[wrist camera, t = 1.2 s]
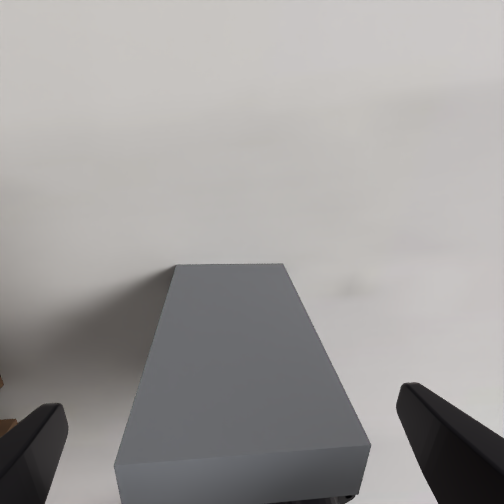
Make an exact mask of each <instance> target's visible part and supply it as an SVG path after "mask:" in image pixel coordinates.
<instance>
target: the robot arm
mask: <svg viewBox="0 0 504 504" xmlns="http://www.w3.org/2000/svg"><path fill="white" fill-rule="evenodd" d="M396 410H397V414H398V416H399V419H400V421H401V423H402V426H403V428H404V430H405V433H406V435H407V438H408V440H409V442H410V445H411V447H412V450H413V452H414V454H415V457H416V459H417V461H418V464H419V466H420V468H421V470H422V473H423V475H424V477H425V479H426V481H427V483H428V485H429V487H430V488H431V490H432V492H433V494H434V496H435V498H436V500H437V502H438V504H504V438H503V437H501V436H499V435H498V434H496V433H495V432H493V431H492V430H490V429H489V428H487V427H486V426H484V425H483V424H481V423H480V422H478V421H476V420H475V419H473V418H472V417H470V416H469V415H467V414H466V413H464V412H463V411H461V410H460V409H458V408H457V407H455V406H454V405H452V404H450V403H449V402H447V401H446V400H444V399H443V398H441V397H440V396H438V395H437V394H435V393H434V392H432V391H431V390H429V389H427V388H426V387H424V386H423V385H421V384H420V383H416V382H413V383H404V384H403V385H402V386H401V389H400V392H399V396H398V399H397V403H396ZM67 435H68V423H67V419H66V415H65V412H64V408H63V405H62V404H60V403H49V404H43V405H41V406H39V407H38V408H37V409H36V410H34V411H33V412H32V413H31V414H29V415H28V416H27V417H26V418H24V419H23V420H22V421H21V422H19V423H18V424H17V425H15V426H14V427H13V428H12V429H10V430H9V431H8V432H7V433H5V434H4V435H3V436H2V437H0V504H45V501H46V499H47V496H48V493H49V490H50V487H51V484H52V481H53V478H54V475H55V472H56V469H57V466H58V463H59V460H60V457H61V454H62V451H63V448H64V445H65V442H66V439H67ZM354 497H355V495H348V496H338V497H328V498H318V499H308V500H297V501H287V502H277V503H267V504H345V503H347V502H349V501H350V500H352V499H353V498H354Z"/></svg>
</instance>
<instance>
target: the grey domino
mask: <svg viewBox="0 0 504 504" xmlns="http://www.w3.org/2000/svg"><path fill="white" fill-rule="evenodd" d="M370 448H371V443H370V441H369V439H368V437H367V435H366V433H365V431H364V429H363V427H362V425H361V423H360V421H359V419H358V417H357V414H356V412H355V410H354V408H353V406H352V404H351V402H350V400H349V398H348V396H347V394H346V392H345V390H344V388H343V386H342V384H341V382H340V380H339V377H338V375H337V373H336V371H335V369H334V367H333V365H332V363H331V361H330V359H329V357H328V355H327V353H326V351H325V349H324V347H323V345H322V343H321V341H320V338H319V336H318V334H317V332H316V330H315V328H314V326H313V324H312V322H311V320H310V318H309V316H308V314H307V312H306V310H305V308H304V306H303V304H302V302H301V299H300V297H299V295H298V293H297V291H296V289H295V287H294V285H293V283H292V281H291V279H290V277H289V275H288V273H287V271H286V269H285V267H284V265H283V264H206V265H176V268H175V271H174V274H173V277H172V281H171V284H170V287H169V290H168V293H167V297H166V300H165V303H164V306H163V309H162V313H161V316H160V319H159V322H158V325H157V329H156V332H155V335H154V338H153V341H152V345H151V348H150V351H149V354H148V358H147V361H146V364H145V367H144V370H143V374H142V377H141V380H140V383H139V386H138V390H137V393H136V396H135V399H134V402H133V406H132V409H131V412H130V415H129V418H128V422H127V425H126V428H125V431H124V434H123V438H122V441H121V444H120V447H119V450H118V454H117V457H116V460H115V463H114V469H115V474H116V479H117V484H118V489H119V494H120V498H121V503H122V504H267V503H277V502H287V501H297V500H308V499H318V498H328V497H338V496H348V495H358V494H359V490H360V486H361V482H362V478H363V475H364V471H365V467H366V463H367V459H368V456H369V452H370Z"/></svg>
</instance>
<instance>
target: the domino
mask: <svg viewBox="0 0 504 504" xmlns="http://www.w3.org/2000/svg"><path fill="white" fill-rule="evenodd" d="M17 424H18V423H17V420H16V419H4V420H0V437H2V436H3V435H4V434H5V433H7V432H8V431H9V430H10V429H12V428H13V427H14V426H15V425H17Z"/></svg>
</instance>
